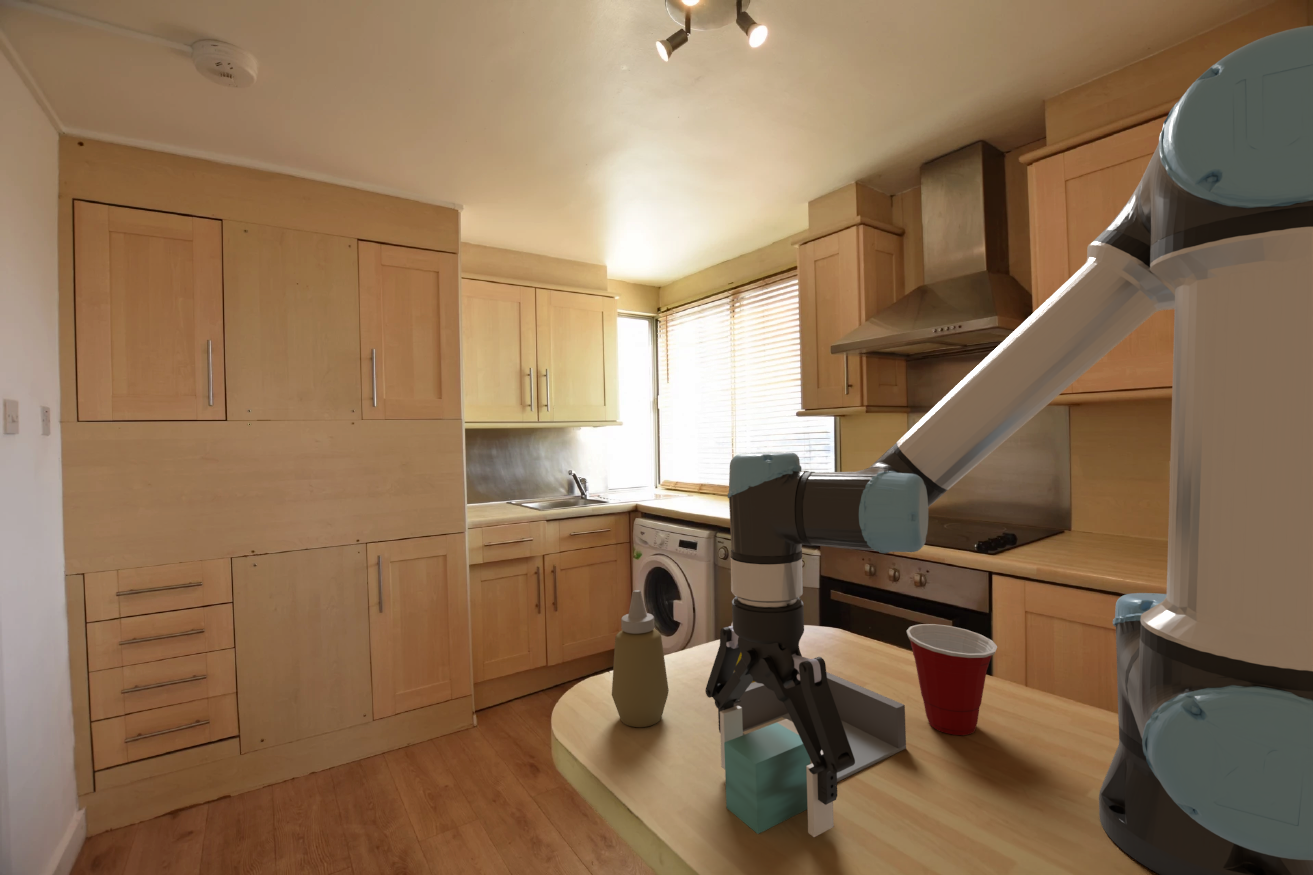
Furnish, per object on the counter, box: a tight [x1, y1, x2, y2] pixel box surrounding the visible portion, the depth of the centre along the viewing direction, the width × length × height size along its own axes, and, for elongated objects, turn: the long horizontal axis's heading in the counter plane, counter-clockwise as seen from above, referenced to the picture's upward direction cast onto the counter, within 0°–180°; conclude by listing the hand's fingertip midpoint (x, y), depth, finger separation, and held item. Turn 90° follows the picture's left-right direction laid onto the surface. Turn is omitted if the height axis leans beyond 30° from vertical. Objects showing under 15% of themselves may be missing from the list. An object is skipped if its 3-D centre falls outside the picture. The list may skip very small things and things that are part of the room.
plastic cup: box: [906, 623, 998, 736], centre depth 78 cm, size 11×11×12 cm
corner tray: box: [734, 671, 907, 783], centre depth 76 cm, size 16×15×5 cm
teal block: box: [724, 719, 812, 835], centre depth 63 cm, size 9×5×7 cm, turn 122°
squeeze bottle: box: [611, 589, 669, 728], centre depth 83 cm, size 8×8×18 cm
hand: (772, 794), depth 63 cm, fingers open, 13 cm apart
